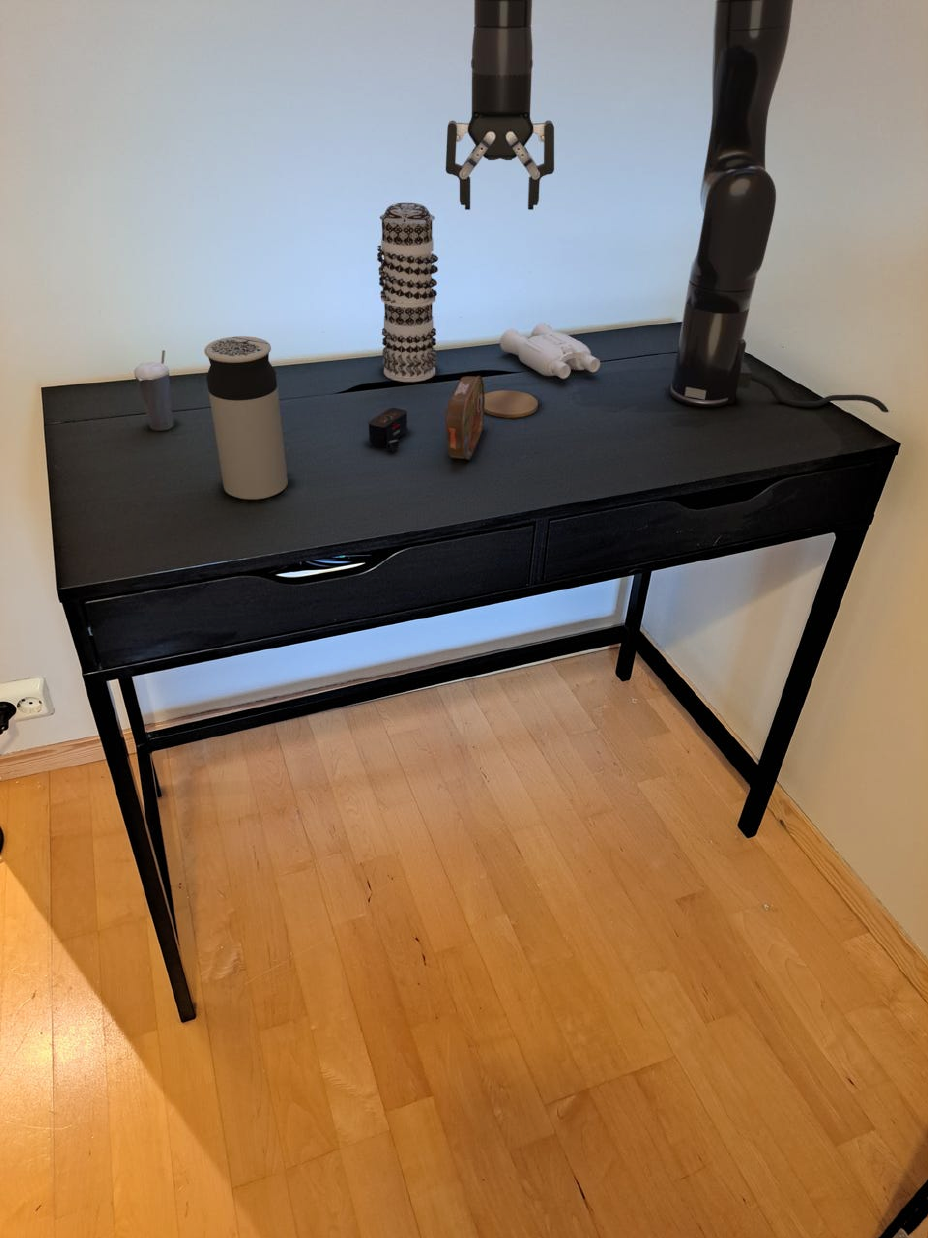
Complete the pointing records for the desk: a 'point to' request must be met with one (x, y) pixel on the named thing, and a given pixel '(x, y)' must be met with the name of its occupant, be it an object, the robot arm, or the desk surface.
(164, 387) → the milkshake
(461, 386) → the tin
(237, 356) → the travel mug
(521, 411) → the cork coaster
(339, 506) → the desk surface
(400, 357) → the decorative candle
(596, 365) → the binoculars
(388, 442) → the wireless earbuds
